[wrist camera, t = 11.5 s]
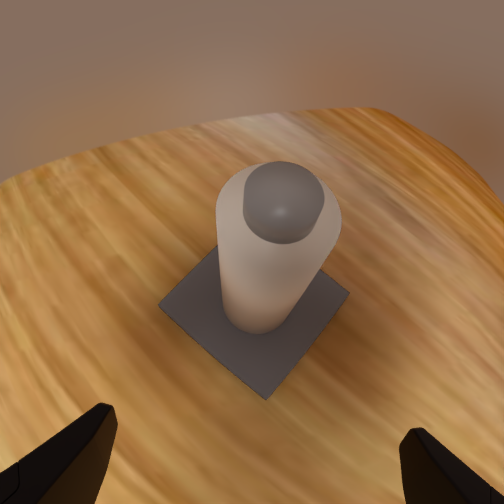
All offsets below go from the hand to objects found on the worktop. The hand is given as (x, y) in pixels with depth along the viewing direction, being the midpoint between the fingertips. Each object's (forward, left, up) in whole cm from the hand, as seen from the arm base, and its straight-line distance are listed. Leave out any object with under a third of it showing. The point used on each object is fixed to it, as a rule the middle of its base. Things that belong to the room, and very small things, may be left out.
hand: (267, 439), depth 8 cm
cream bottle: (+4, -7, -13) cm, 15 cm away
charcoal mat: (+4, -7, -13) cm, 15 cm away
